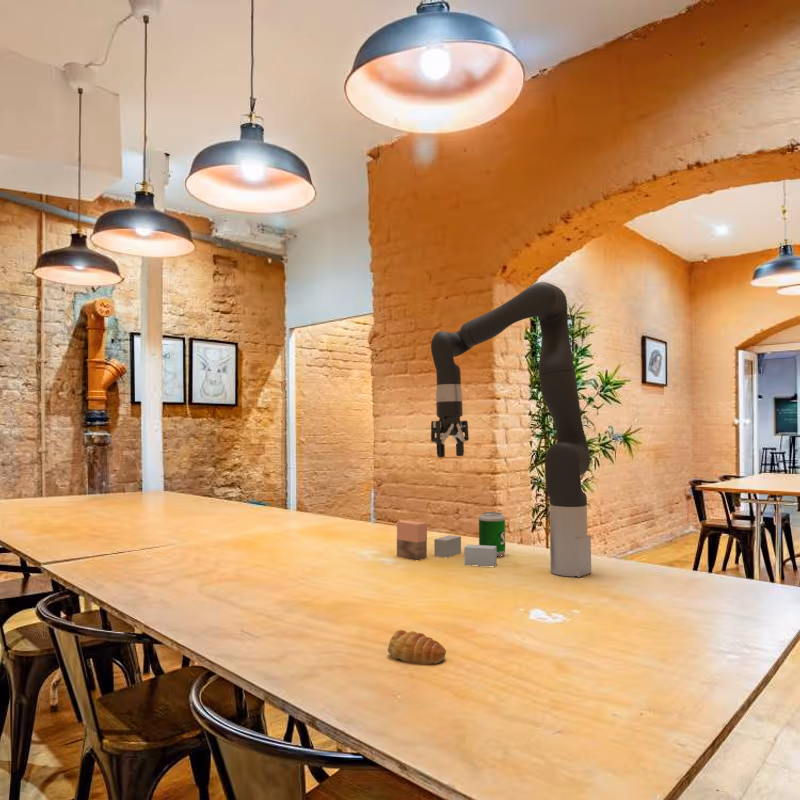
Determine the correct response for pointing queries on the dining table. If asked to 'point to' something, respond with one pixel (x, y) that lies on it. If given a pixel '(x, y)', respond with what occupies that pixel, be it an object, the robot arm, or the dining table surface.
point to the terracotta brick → (412, 531)
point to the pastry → (415, 648)
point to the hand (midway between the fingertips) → (450, 456)
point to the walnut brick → (412, 549)
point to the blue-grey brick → (480, 555)
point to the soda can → (492, 531)
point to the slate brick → (447, 546)
